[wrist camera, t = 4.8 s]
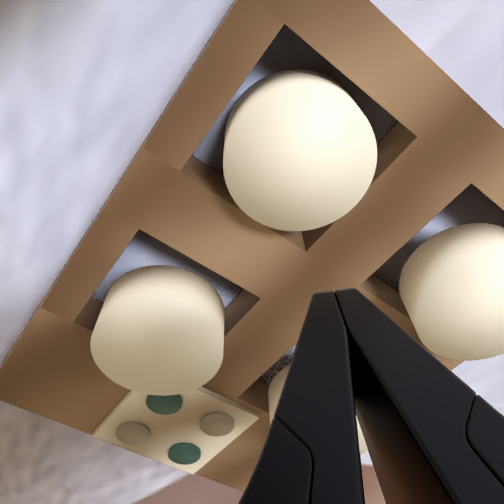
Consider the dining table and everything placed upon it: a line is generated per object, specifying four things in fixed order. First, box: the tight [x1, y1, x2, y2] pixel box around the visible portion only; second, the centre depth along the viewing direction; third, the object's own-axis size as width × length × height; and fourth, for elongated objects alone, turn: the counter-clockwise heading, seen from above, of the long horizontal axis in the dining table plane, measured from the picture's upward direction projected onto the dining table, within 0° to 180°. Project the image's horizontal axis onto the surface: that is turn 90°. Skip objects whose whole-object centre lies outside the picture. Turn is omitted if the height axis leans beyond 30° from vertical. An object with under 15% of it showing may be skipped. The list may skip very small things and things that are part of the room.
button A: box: [399, 223, 504, 360], centre depth 18 cm, size 5×5×2 cm
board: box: [0, 0, 504, 492], centre depth 22 cm, size 18×24×2 cm
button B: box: [223, 69, 377, 231], centre depth 16 cm, size 5×5×2 cm
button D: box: [90, 265, 225, 396], centre depth 19 cm, size 5×5×2 cm
